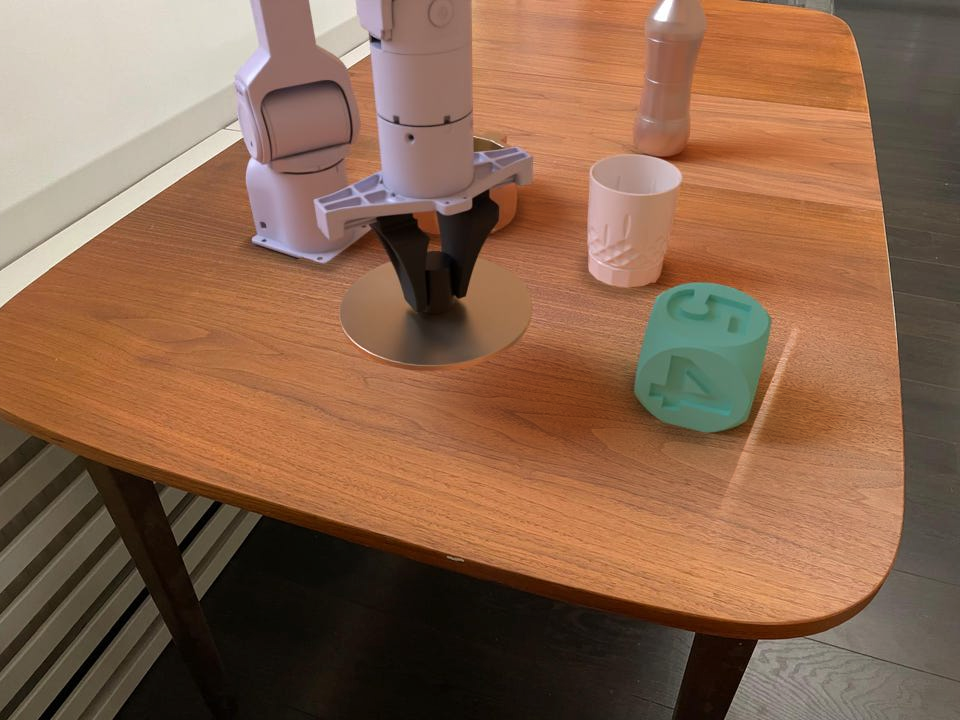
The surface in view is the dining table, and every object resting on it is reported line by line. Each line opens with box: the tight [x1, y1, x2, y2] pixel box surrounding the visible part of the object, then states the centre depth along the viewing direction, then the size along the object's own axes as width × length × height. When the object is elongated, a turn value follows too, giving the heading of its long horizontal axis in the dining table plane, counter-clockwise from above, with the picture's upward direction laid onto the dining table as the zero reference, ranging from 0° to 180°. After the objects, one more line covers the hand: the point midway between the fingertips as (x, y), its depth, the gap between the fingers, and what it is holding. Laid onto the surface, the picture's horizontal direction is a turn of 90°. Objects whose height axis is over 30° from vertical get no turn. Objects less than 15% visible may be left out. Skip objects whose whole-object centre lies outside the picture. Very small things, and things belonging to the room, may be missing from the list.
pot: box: [413, 130, 518, 236], centre depth 79 cm, size 13×18×6 cm
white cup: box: [586, 153, 684, 289], centre depth 68 cm, size 8×8×10 cm
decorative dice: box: [633, 281, 773, 433], centre depth 55 cm, size 8×8×8 cm
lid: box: [338, 250, 533, 372], centre depth 53 cm, size 14×14×5 cm
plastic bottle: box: [632, 0, 708, 157], centre depth 86 cm, size 6×7×20 cm
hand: (435, 297), depth 53 cm, fingers closed on lid, 2 cm apart
